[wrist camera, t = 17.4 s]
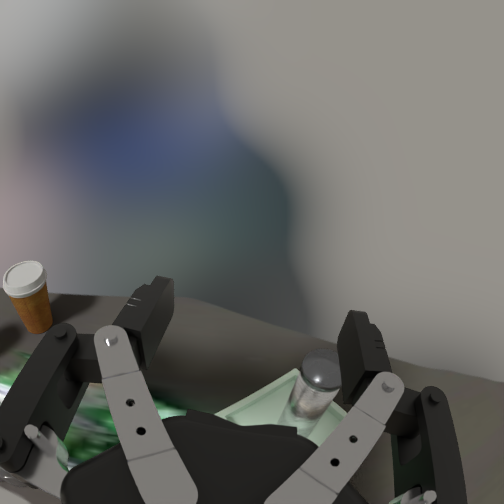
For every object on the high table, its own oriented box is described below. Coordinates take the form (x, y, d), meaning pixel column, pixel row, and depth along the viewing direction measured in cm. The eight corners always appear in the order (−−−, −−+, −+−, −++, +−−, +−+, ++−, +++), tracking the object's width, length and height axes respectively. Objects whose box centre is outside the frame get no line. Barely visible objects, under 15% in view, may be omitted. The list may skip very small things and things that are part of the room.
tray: (285, 500, 28) (290, 497, 27) (213, 421, 38) (214, 414, 37) (360, 436, 37) (367, 429, 36) (292, 376, 48) (295, 368, 47)
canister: (291, 452, 34) (329, 394, 26) (267, 428, 37) (292, 363, 29) (316, 432, 37) (358, 369, 29) (292, 410, 40) (324, 342, 32)
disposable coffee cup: (32, 304, 51) (18, 256, 45) (66, 312, 52) (53, 262, 46) (12, 333, 42) (-8, 284, 37) (48, 344, 43) (28, 293, 37)
